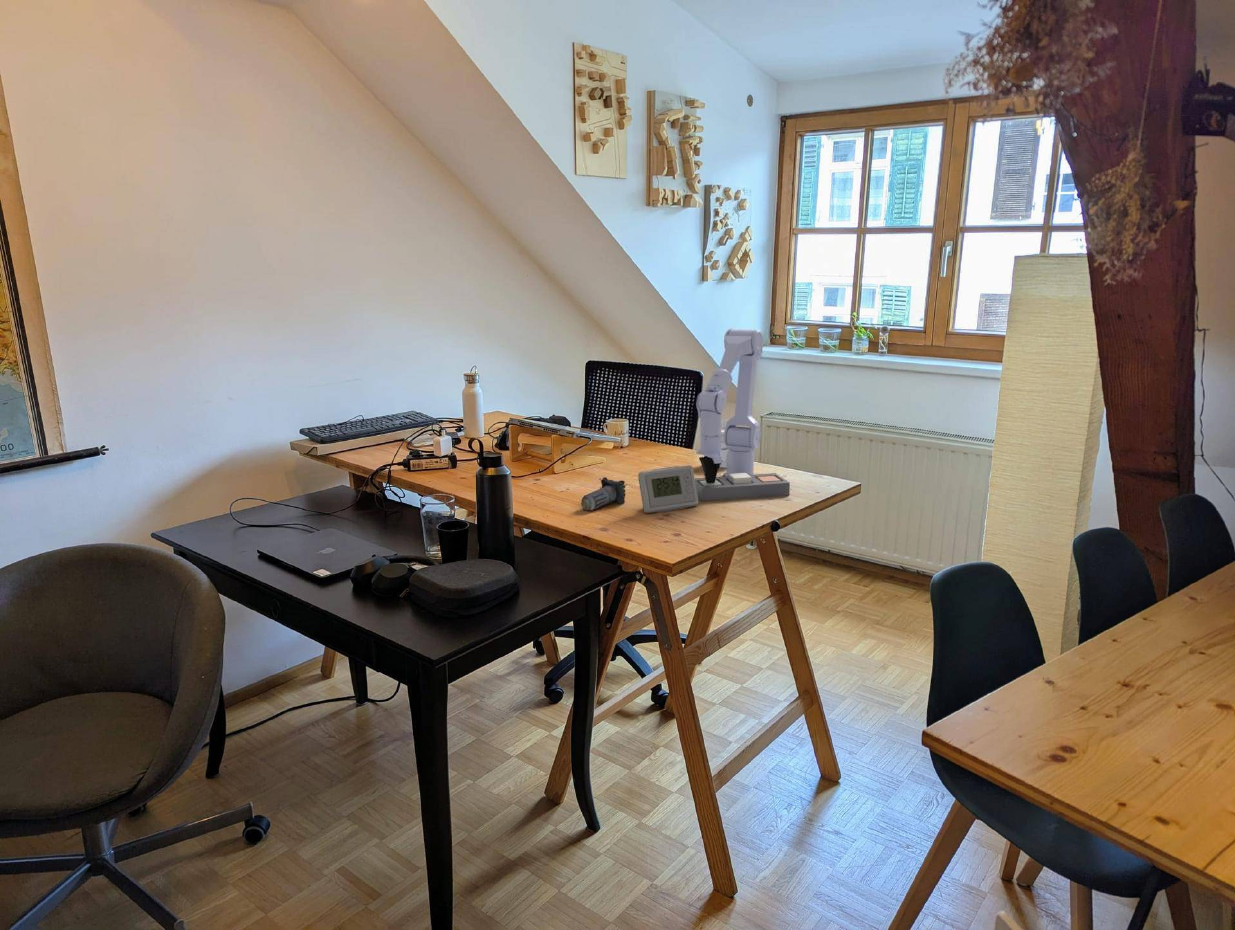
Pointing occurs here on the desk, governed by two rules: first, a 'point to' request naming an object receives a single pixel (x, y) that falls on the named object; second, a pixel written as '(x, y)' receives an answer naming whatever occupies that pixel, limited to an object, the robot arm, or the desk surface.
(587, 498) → the ribbed flanged cylinder
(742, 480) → the cream key
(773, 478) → the terracotta key
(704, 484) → the sage key
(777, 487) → the panel
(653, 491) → the digital clock
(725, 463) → the ink cartridge box
